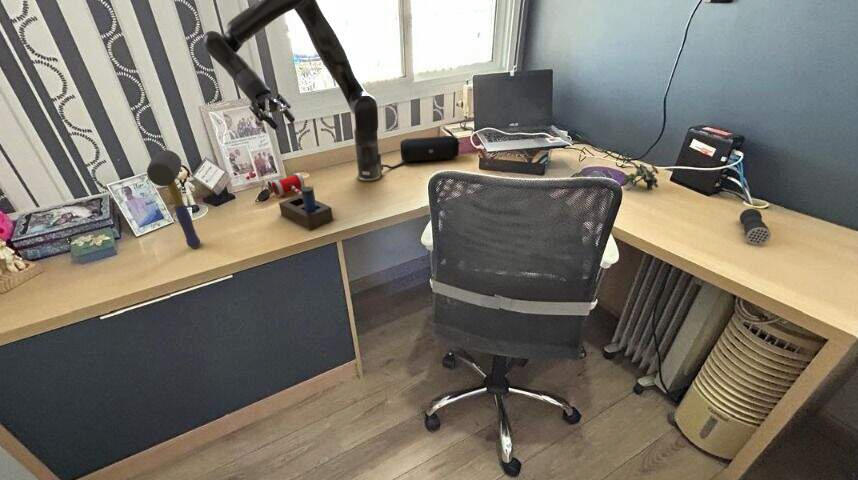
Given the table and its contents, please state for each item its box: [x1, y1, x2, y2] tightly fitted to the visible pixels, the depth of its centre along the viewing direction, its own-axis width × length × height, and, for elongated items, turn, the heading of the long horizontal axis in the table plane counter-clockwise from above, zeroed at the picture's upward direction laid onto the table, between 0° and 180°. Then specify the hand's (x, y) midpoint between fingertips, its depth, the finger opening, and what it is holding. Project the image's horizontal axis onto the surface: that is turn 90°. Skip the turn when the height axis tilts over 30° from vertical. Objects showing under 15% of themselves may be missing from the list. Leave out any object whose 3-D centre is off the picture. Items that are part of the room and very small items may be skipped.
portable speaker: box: [399, 135, 460, 163], centre depth 188 cm, size 26×10×10 cm, turn 96°
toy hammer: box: [270, 172, 306, 198], centre depth 160 cm, size 23×12×6 cm, turn 43°
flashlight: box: [739, 208, 772, 246], centre depth 127 cm, size 15×5×5 cm, turn 154°
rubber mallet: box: [146, 149, 201, 249], centre depth 126 cm, size 12×8×30 cm, turn 14°
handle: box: [300, 186, 317, 213], centre depth 142 cm, size 4×4×12 cm
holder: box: [278, 194, 334, 231], centre depth 147 cm, size 10×18×5 cm, turn 46°
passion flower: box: [619, 163, 659, 190], centre depth 155 cm, size 11×11×12 cm
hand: (285, 124), depth 142 cm, fingers open, 8 cm apart
